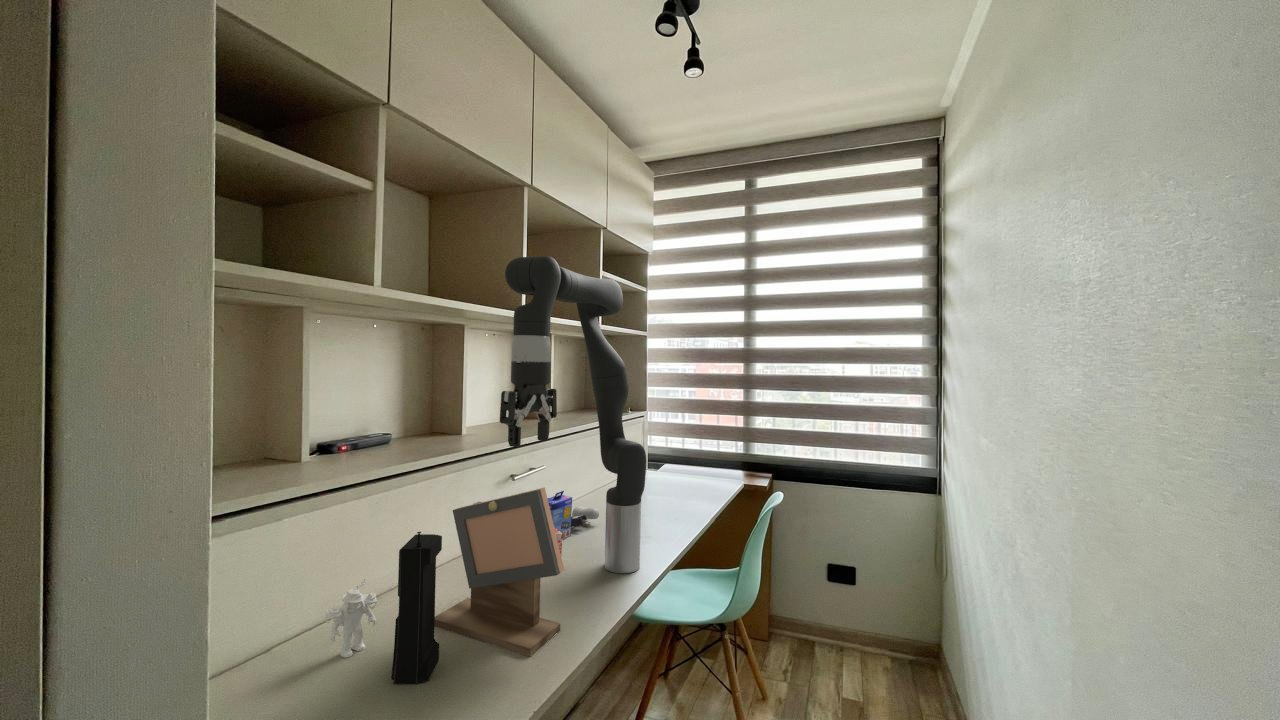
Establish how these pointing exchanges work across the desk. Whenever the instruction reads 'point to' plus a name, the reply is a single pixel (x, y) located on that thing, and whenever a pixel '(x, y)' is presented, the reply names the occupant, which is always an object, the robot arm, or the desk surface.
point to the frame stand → (502, 617)
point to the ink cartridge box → (561, 513)
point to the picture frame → (508, 539)
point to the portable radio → (416, 611)
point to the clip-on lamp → (583, 515)
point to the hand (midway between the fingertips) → (529, 443)
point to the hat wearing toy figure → (351, 619)
